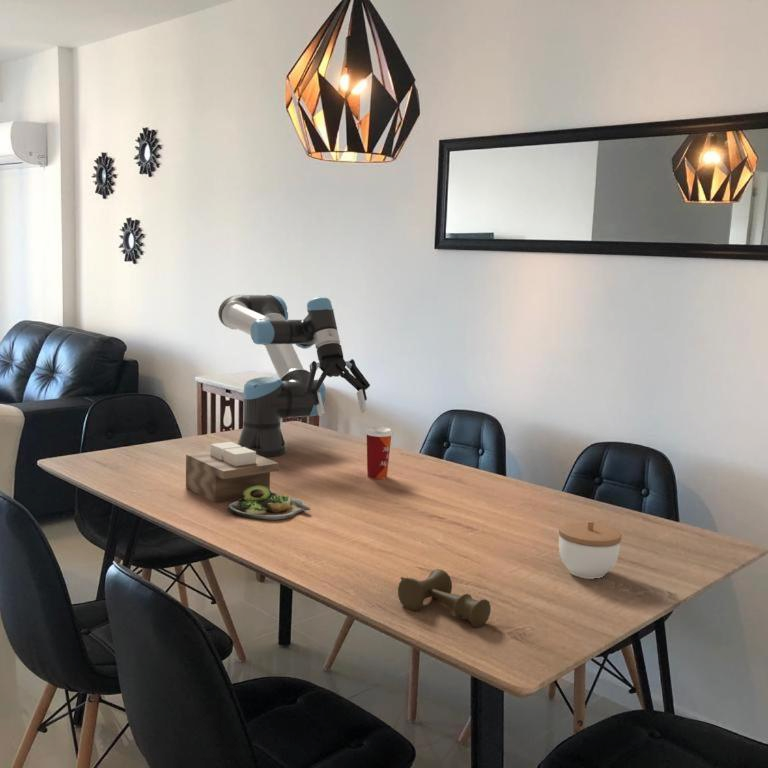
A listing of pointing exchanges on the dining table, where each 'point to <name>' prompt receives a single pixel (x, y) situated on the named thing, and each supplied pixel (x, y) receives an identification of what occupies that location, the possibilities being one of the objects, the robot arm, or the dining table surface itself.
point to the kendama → (442, 597)
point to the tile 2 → (239, 456)
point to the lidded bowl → (588, 548)
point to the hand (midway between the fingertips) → (343, 413)
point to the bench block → (225, 476)
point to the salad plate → (266, 504)
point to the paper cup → (378, 451)
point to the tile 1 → (221, 449)
